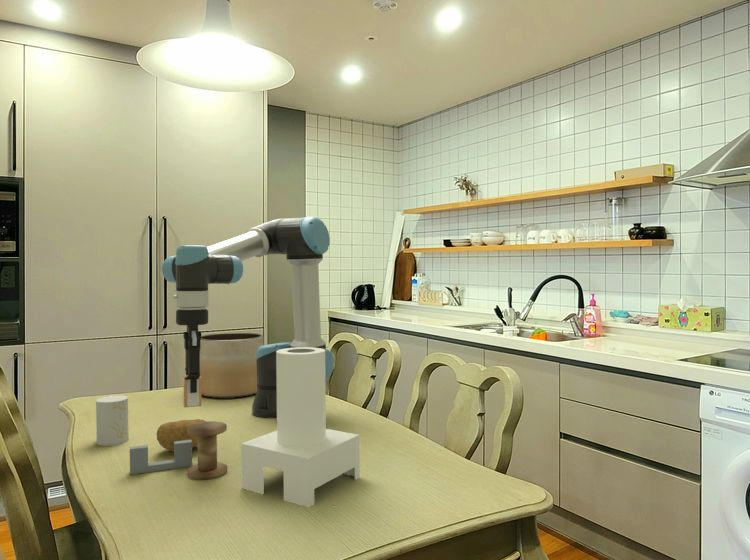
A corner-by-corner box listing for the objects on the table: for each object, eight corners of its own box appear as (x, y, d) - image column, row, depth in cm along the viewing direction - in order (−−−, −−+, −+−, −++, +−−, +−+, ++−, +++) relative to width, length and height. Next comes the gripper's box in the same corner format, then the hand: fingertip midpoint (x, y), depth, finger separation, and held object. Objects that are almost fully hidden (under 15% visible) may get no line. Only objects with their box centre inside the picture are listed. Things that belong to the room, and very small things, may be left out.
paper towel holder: (308, 507, 113) (307, 360, 112) (241, 488, 123) (240, 353, 122) (359, 477, 129) (358, 348, 128) (296, 463, 139) (295, 343, 138)
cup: (116, 446, 152) (115, 402, 152) (90, 444, 154) (89, 401, 154) (134, 437, 160) (134, 396, 160) (109, 436, 162) (109, 395, 162)
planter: (185, 398, 208) (184, 339, 208) (215, 384, 233) (215, 332, 233) (249, 401, 204) (249, 340, 203) (273, 386, 229) (273, 332, 228)
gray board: (191, 463, 138) (191, 439, 138) (192, 466, 137) (191, 441, 137) (130, 471, 133) (129, 446, 133) (129, 474, 131) (129, 449, 131)
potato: (216, 449, 149) (215, 419, 149) (161, 460, 141) (161, 429, 141) (204, 440, 157) (203, 412, 157) (151, 450, 149) (151, 420, 149)
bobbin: (224, 463, 138) (223, 419, 138) (229, 476, 130) (229, 429, 130) (186, 469, 135) (185, 423, 134) (189, 482, 126) (188, 434, 126)
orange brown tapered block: (200, 402, 139) (200, 374, 139) (201, 406, 136) (201, 377, 136) (183, 404, 138) (183, 375, 137) (184, 407, 134) (184, 378, 134)
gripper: (174, 306, 143) (174, 398, 143) (178, 310, 127) (178, 413, 127) (204, 306, 146) (204, 395, 146) (212, 310, 130) (212, 409, 130)
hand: (192, 403), depth 137 cm, fingers closed on orange brown tapered block, 4 cm apart
